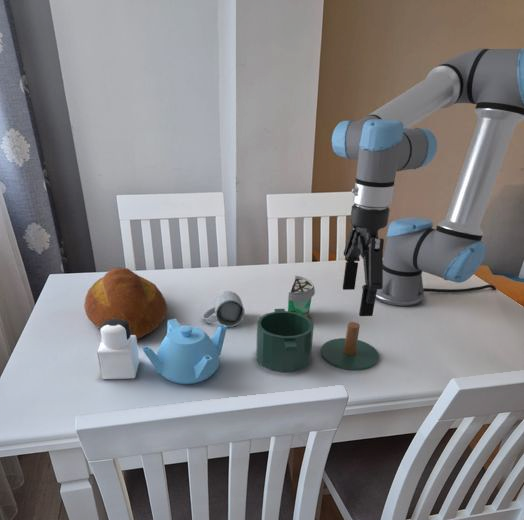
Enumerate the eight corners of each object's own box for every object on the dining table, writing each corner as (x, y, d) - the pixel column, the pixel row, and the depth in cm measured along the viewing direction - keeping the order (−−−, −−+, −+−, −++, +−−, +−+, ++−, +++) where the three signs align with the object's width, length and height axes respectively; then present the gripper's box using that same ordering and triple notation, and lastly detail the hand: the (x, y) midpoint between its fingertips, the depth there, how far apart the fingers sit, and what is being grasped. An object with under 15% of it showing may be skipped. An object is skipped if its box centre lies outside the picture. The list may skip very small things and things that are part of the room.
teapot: (231, 356, 112) (230, 316, 107) (212, 393, 100) (210, 350, 94) (170, 348, 115) (166, 308, 109) (144, 383, 102) (138, 340, 97)
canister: (302, 339, 120) (305, 305, 115) (317, 379, 105) (321, 343, 100) (252, 340, 119) (253, 306, 114) (261, 382, 104) (262, 345, 99)
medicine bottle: (108, 361, 109) (100, 315, 103) (139, 361, 110) (133, 315, 103) (101, 379, 103) (92, 331, 97) (135, 379, 103) (128, 331, 97)
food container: (309, 330, 124) (312, 295, 119) (286, 327, 125) (288, 293, 120) (314, 310, 135) (317, 277, 129) (293, 307, 136) (295, 274, 130)
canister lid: (367, 341, 120) (373, 310, 116) (385, 371, 109) (392, 338, 104) (315, 343, 119) (318, 312, 114) (327, 373, 107) (331, 340, 103)
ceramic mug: (241, 312, 132) (240, 286, 128) (245, 326, 125) (244, 299, 121) (202, 314, 130) (201, 289, 126) (204, 329, 124) (203, 302, 120)
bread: (89, 351, 113) (80, 304, 106) (84, 295, 139) (76, 254, 132) (177, 338, 119) (174, 293, 112) (157, 286, 145) (153, 247, 139)
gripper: (337, 190, 105) (327, 279, 116) (372, 223, 84) (356, 328, 95) (370, 191, 106) (357, 279, 117) (412, 223, 85) (392, 327, 96)
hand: (356, 301), depth 106 cm, fingers open, 13 cm apart
